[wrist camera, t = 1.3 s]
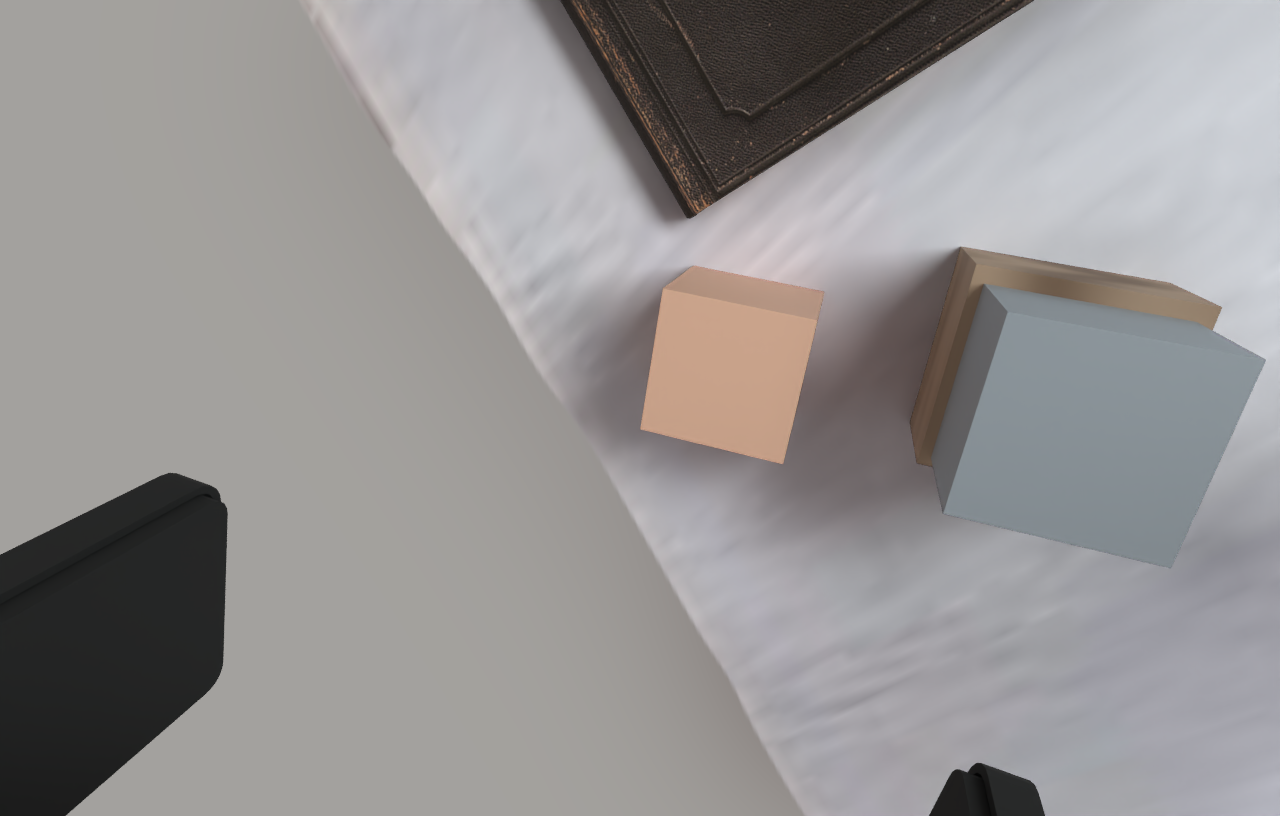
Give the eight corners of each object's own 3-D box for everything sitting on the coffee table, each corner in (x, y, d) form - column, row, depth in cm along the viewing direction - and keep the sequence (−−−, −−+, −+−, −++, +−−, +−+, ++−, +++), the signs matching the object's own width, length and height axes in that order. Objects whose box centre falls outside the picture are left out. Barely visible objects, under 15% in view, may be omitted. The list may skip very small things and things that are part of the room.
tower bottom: (1168, 282, 31) (1222, 307, 26) (1097, 462, 34) (1134, 513, 29) (960, 246, 32) (976, 263, 28) (909, 421, 35) (917, 463, 31)
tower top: (1196, 322, 27) (1266, 359, 22) (1122, 501, 29) (1170, 568, 25) (984, 283, 28) (1007, 311, 23) (930, 457, 30) (943, 513, 26)
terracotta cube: (824, 291, 34) (817, 320, 29) (795, 415, 36) (783, 464, 31) (693, 265, 35) (662, 288, 30) (672, 387, 38) (640, 429, 32)
